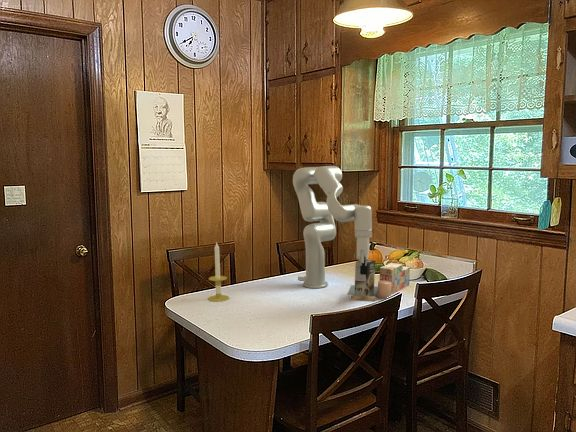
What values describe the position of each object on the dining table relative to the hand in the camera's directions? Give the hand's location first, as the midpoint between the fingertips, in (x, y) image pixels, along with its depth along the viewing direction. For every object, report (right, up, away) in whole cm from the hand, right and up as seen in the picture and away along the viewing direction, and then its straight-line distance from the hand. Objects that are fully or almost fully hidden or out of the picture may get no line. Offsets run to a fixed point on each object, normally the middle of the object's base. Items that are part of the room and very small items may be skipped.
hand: (364, 274), depth 216 cm
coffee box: (+1, -11, +8) cm, 14 cm away
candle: (-66, -13, +9) cm, 68 cm away
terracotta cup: (+10, -11, +7) cm, 16 cm away
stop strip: (0, -12, +2) cm, 12 cm away
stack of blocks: (+18, -10, +20) cm, 29 cm away
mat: (+4, -10, +17) cm, 20 cm away
